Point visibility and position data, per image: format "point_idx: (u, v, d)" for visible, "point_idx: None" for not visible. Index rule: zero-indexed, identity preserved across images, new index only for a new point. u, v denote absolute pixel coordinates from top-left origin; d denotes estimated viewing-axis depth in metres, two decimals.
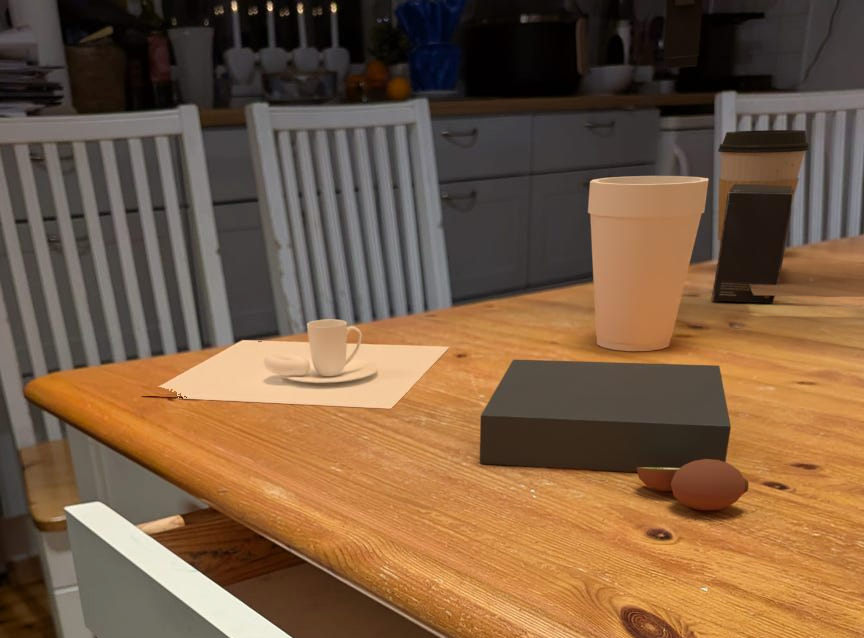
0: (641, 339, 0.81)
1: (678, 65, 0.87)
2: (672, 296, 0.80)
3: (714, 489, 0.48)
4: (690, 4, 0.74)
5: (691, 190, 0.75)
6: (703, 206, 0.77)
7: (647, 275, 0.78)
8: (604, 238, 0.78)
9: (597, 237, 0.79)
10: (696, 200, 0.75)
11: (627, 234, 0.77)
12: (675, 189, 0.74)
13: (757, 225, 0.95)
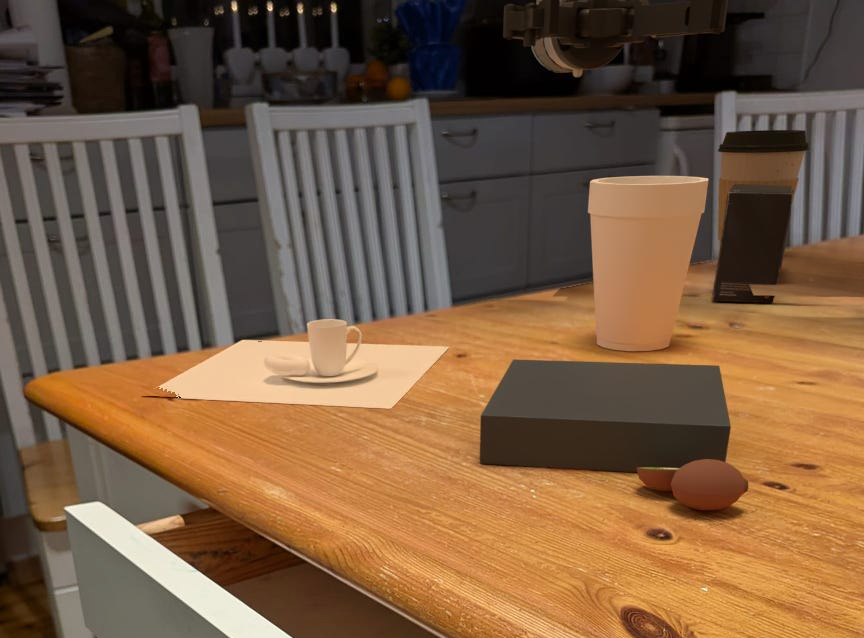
0: (641, 339, 0.81)
1: (710, 14, 0.81)
2: (672, 296, 0.80)
3: (714, 489, 0.48)
4: (538, 11, 0.83)
5: (691, 190, 0.75)
6: (703, 206, 0.77)
7: (647, 275, 0.78)
8: (604, 238, 0.78)
9: (597, 237, 0.79)
10: (696, 200, 0.75)
11: (627, 234, 0.77)
12: (675, 189, 0.74)
13: (757, 225, 0.95)
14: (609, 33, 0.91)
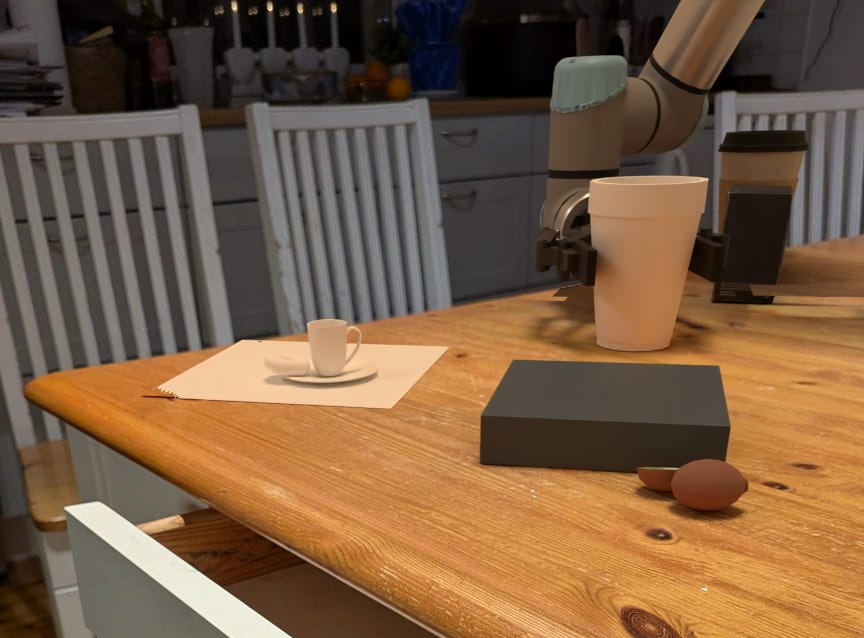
0: (641, 339, 0.81)
1: (712, 268, 0.77)
2: (672, 296, 0.80)
3: (714, 489, 0.48)
4: (573, 257, 0.80)
5: (691, 190, 0.75)
6: (703, 206, 0.77)
7: (647, 275, 0.78)
8: (604, 238, 0.78)
9: (597, 237, 0.79)
10: (696, 200, 0.75)
11: (627, 234, 0.77)
12: (676, 189, 0.74)
13: (757, 225, 0.95)
14: None
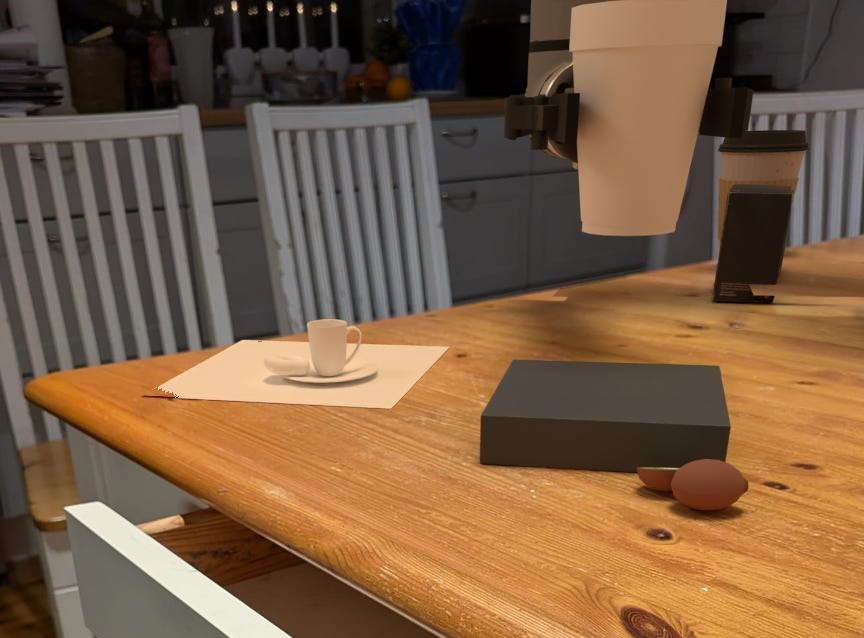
0: (638, 219, 0.63)
1: (731, 118, 0.59)
2: (678, 160, 0.61)
3: (714, 489, 0.48)
4: (550, 110, 0.61)
5: (704, 8, 0.56)
6: (720, 35, 0.58)
7: (646, 129, 0.60)
8: (590, 82, 0.60)
9: (581, 82, 0.61)
10: (711, 24, 0.57)
11: (619, 72, 0.58)
12: (683, 5, 0.56)
13: (757, 225, 0.95)
14: None
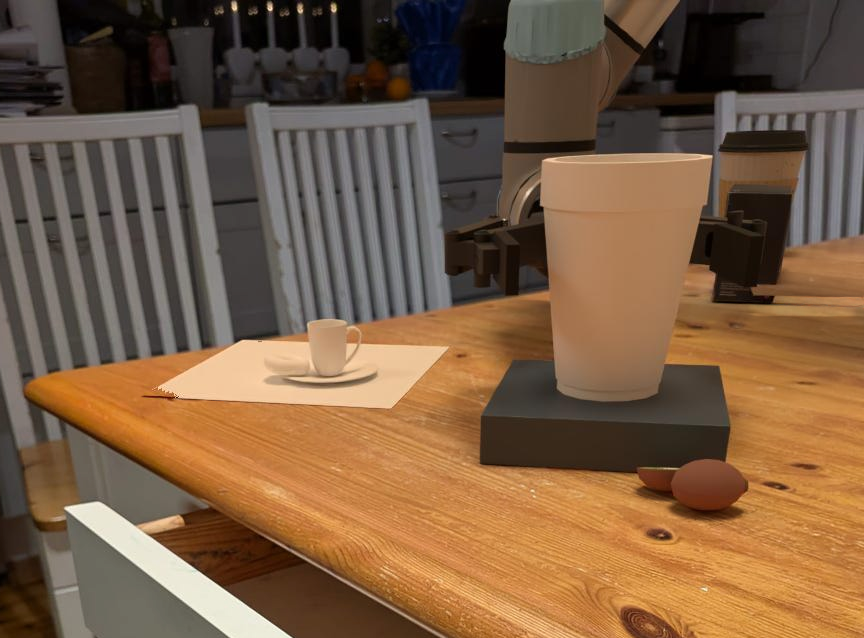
0: (617, 385, 0.57)
1: (745, 267, 0.54)
2: (661, 325, 0.56)
3: (714, 489, 0.48)
4: (490, 254, 0.57)
5: (687, 171, 0.51)
6: (705, 195, 0.53)
7: (624, 295, 0.54)
8: (562, 242, 0.54)
9: (553, 240, 0.55)
10: (695, 186, 0.52)
11: (595, 236, 0.53)
12: (665, 170, 0.50)
13: None
14: None
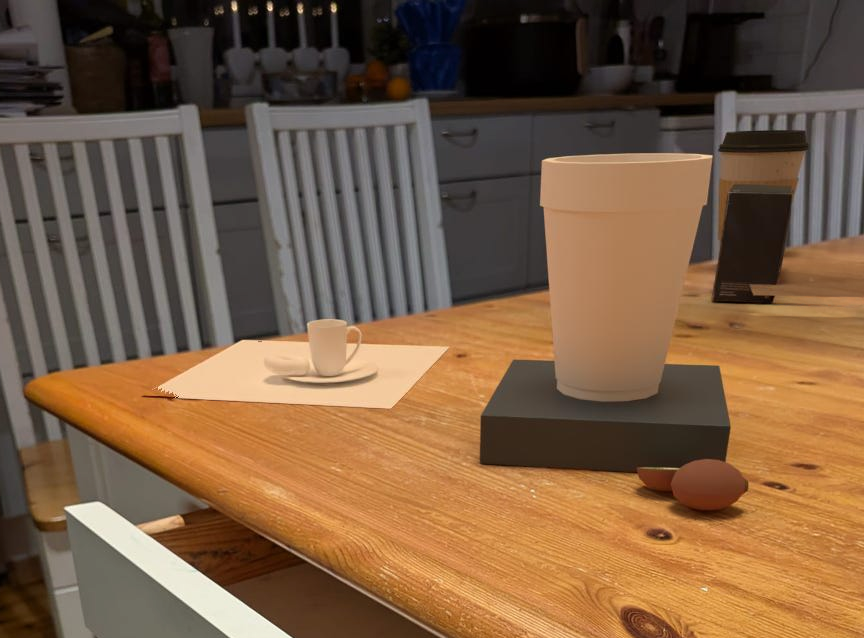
0: (617, 385, 0.57)
1: None
2: (661, 325, 0.56)
3: (714, 489, 0.48)
4: None
5: (687, 171, 0.51)
6: (705, 195, 0.53)
7: (624, 295, 0.54)
8: (562, 242, 0.54)
9: (553, 240, 0.55)
10: (695, 186, 0.52)
11: (595, 236, 0.53)
12: (664, 170, 0.50)
13: (757, 225, 0.95)
14: None
